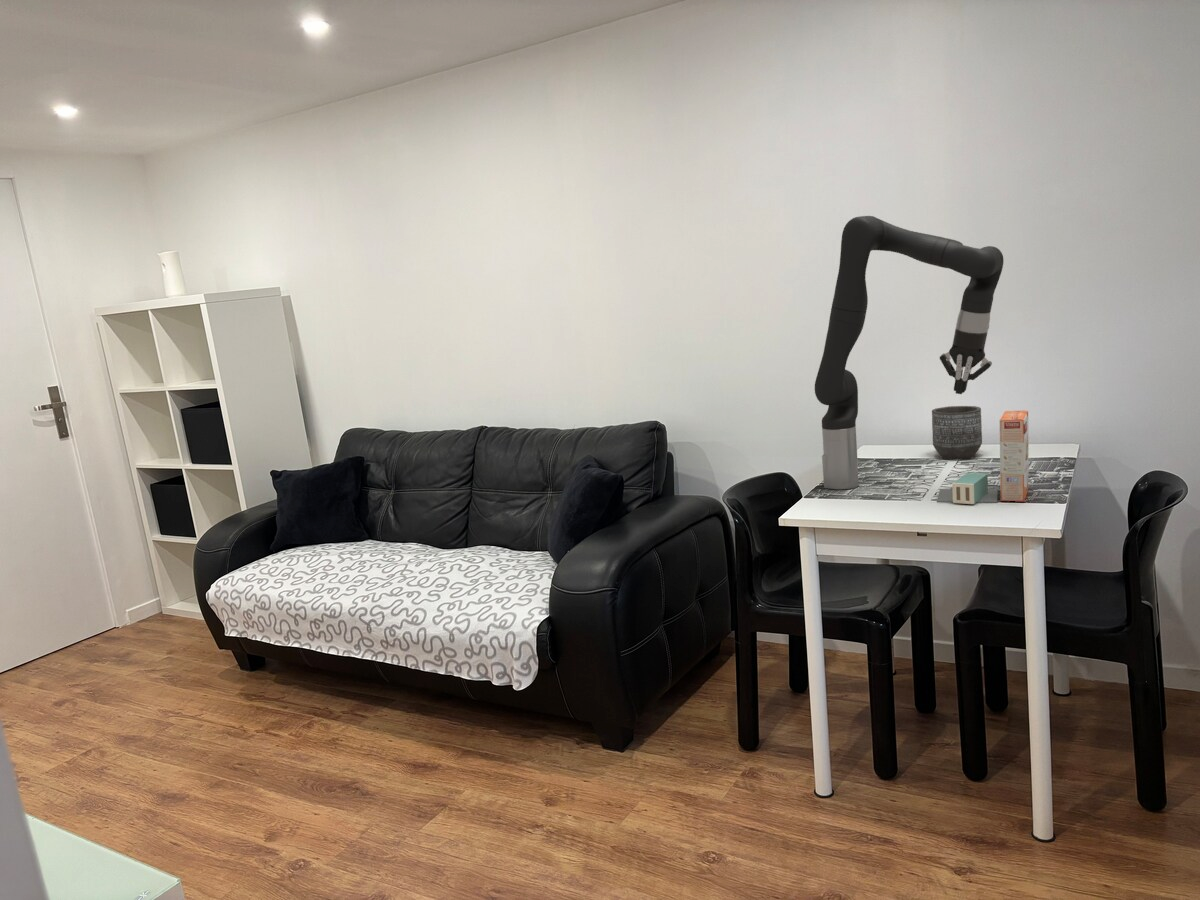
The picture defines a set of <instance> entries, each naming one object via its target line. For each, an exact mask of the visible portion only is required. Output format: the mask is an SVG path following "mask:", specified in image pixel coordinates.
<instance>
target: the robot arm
mask: <svg viewBox="0 0 1200 900" xmlns="http://www.w3.org/2000/svg"><path fill="white" fill-rule="evenodd" d="M840 242H841V243H840V255H839V256H840V257H839V264H838V265H839V266H838V267H839V268H838V274H837V278H836V282H835V287H834V288H835V289H834V294H833V298H832V303H831V309H830V314H829V320H828V327H827V328H828V329H827V332H826V337H825V342H824V343H825V344H824V347H823V354H822V357H821V361H820V364H819V368H818V371H817V374H816V377H815V378H816V379H815V381H814V394H815V397H816V399H817V400H818V402H819V403H820V404H822V405H825V406H828V408H827V410H826V413H825V414H824V416H823V417H822V419H821V431H822V434H821V435H822V446H823V447H822V448H823V449H822V450H823V455H822V456H821V458H822V459H821V460H822V477H823V480H822V481H823V488H824V489H830V490H849V489H855V488H857V487H859V485H860V484H859V483H860V481H859V478H860V477H859V465H858V444H857V442H858V441H857V425H856V421H857V417H858V413H859V388H858V382H857V379H856V377H855V375H854V374H853V373H852V372H851V371H849V370H848V369H846V366H847V361H848V358H849V356H850V354H851V352H852V349H853V348H854V346H855V344H856V343H857V341H858V339H859V337H860V336H861V333H862V330H863V328H864V325H865V322H866V317H867V311H868V303H869V301H868V289H867V281H866V274H867V272H866V271H867V268H868V267H867V266H868V262H869V258H870V255H871V252H872V251H883V252H892V253H896V254H900V255H903V256H907V257H909V258H912V259H914V260H916V261H918V262H921V263H924V264H927V265H932V266H936V267H940V268H943V269H948V270H949V269H950V270H953V271H955V272H956V273H960V274H961V275H964V276H967V277H970V279H969V282H968V285H967V286H966V287H965V289H964V291H963V293H962V299H961V303H960V310H959V313H958V315H957V319H956V323H955V325H956V326H955V331H954V335H953V341H952V346H951V347H950V349H949V351H947V352H946V353H942V354H940V356H939V360H940V362H941V364H942V366H943V368H944V369H945V371H946V372H947V375H948V376H950V377H953V378H954V385H953V392H955V394H957V395H962V394H963V393H965V392H966V391H967V387H968V382H969V381H974V380H976V379H977V378H978V377H979V376H981V375H982V374H983V373H984V372H985V371H987V370H989V368H991V366H992V365H993V363H992V361H990V360H989V359H987V358H986V352H985V347H986V341H987V336H988V332H989V329H990V322H991V321H990V320H991V311H992V306H993V302H994V294H995V291H996V288H997V285H998V283H999V281H1000V277H1001V276H1002V275H1001V274H1002V272H1003V267H1004V256H1003V253H1002V251H1001V249H999V248H998V247H996V246H992V245H990V246H989V245H988V246H987V245H986V246H983V247H981V248H977V247H973V246H968V245H964V244H963V243H962V242H960V241H958V240H955V239H952V238H947V237H943V236H938V235H934V234H930V233H929V234H928V233H924V232H918V231H913V230H910V229H909V230H908V229H906V228H902V227H899V226H897V225H895V224H892V223H889V222H887V221H884V220H882V219H880V218H877V217H876V216H873V215H860V216H855V217H852V218H851V219H850V220H849V221H847V223H846V224H845V226H844V227H843V230H842V233H841V240H840ZM951 359H952V361H953V363H954V364H955V365H956V367H955V368H954V366H953V364H952V362H951ZM979 363H980V366H979V368H978V369H977V370H975V371H974V372H973V373H971V372H972V369H973V368H974V367H976V366H977V365H978V364H979Z"/></svg>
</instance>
